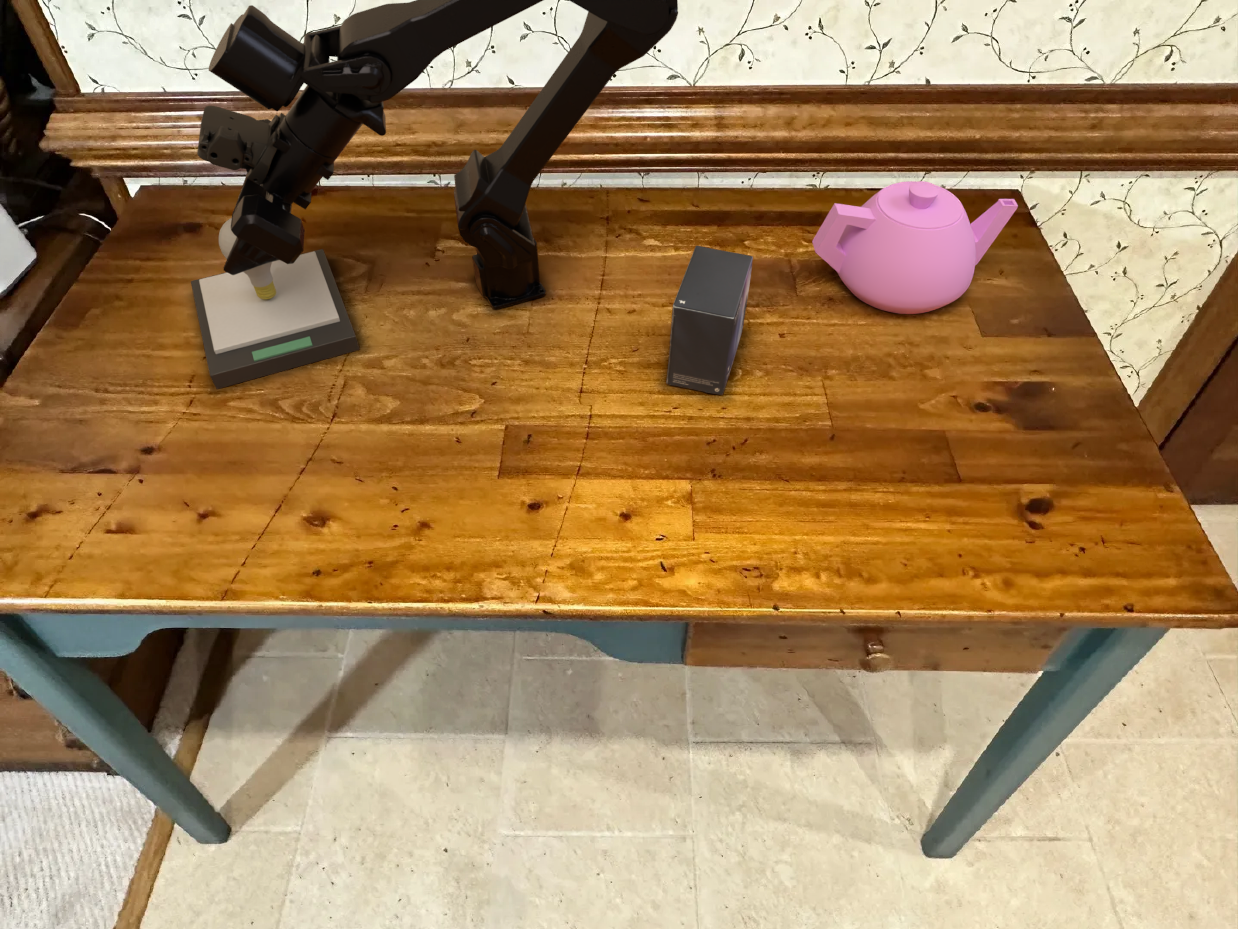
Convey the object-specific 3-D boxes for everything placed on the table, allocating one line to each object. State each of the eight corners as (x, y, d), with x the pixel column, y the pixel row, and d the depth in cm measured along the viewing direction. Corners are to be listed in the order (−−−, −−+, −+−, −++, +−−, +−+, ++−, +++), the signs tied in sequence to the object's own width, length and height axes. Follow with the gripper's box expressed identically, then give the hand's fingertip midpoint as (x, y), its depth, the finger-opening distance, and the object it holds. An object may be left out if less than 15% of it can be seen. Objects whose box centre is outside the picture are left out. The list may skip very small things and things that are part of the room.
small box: (726, 398, 90) (736, 319, 82) (664, 386, 91) (668, 306, 83) (744, 332, 97) (756, 253, 89) (687, 322, 98) (693, 243, 90)
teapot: (823, 329, 97) (844, 236, 88) (790, 245, 107) (806, 154, 98) (1015, 315, 99) (1055, 222, 90) (965, 234, 109) (996, 143, 100)
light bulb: (273, 318, 94) (243, 239, 87) (232, 306, 96) (199, 227, 88) (304, 289, 98) (277, 210, 90) (263, 277, 99) (234, 199, 91)
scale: (327, 262, 105) (321, 244, 103) (360, 349, 95) (354, 331, 93) (196, 294, 101) (188, 276, 99) (216, 389, 91) (207, 371, 89)
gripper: (240, 37, 85) (165, 153, 92) (221, 134, 73) (137, 259, 80) (342, 107, 92) (266, 210, 99) (340, 206, 80) (253, 316, 87)
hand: (232, 245), depth 91 cm, fingers open, 9 cm apart
